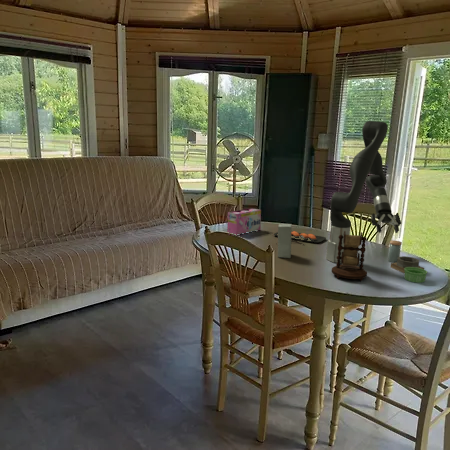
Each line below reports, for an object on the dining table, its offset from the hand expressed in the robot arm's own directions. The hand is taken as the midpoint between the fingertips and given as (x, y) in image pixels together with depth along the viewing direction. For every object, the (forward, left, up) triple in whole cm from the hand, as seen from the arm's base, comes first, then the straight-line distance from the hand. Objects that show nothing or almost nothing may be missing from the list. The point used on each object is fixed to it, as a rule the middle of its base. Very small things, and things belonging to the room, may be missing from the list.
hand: (388, 232), depth 206 cm
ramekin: (-13, -32, -13) cm, 37 cm away
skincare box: (-51, +14, -13) cm, 54 cm away
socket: (-6, -21, -13) cm, 25 cm away
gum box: (-51, +65, -13) cm, 84 cm away
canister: (-3, -9, -13) cm, 16 cm away
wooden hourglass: (-38, -21, -13) cm, 45 cm away
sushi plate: (-31, +39, -13) cm, 52 cm away
